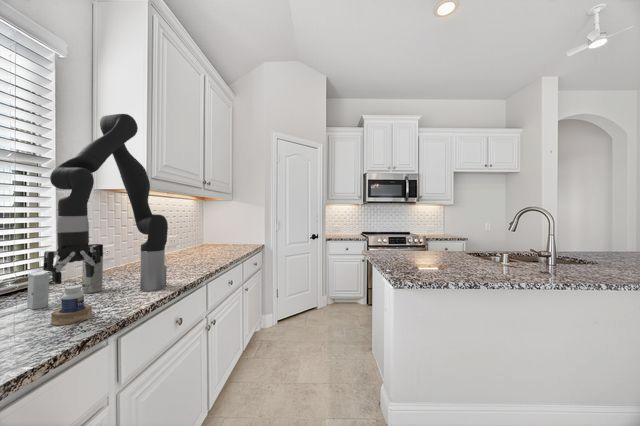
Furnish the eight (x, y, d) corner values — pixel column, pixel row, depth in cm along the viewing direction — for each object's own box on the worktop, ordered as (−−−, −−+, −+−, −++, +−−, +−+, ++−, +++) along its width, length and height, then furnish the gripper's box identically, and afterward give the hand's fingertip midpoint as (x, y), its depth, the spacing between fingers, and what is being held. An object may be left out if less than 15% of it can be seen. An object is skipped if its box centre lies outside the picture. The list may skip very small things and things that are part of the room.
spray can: (85, 290, 119) (85, 244, 119) (104, 288, 122) (105, 243, 122) (79, 294, 113) (80, 246, 113) (100, 292, 116) (100, 245, 116)
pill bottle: (80, 318, 88) (81, 288, 87) (58, 321, 85) (58, 290, 85) (86, 312, 92) (86, 283, 92) (64, 315, 90) (65, 285, 90)
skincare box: (26, 306, 99) (26, 273, 98) (43, 303, 102) (43, 270, 102) (32, 310, 96) (32, 275, 95) (49, 306, 99) (50, 272, 99)
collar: (80, 311, 95) (80, 302, 95) (99, 315, 91) (99, 306, 91) (43, 322, 86) (43, 312, 86) (62, 327, 82) (62, 317, 82)
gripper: (91, 228, 96) (91, 274, 97) (37, 231, 83) (38, 285, 83) (105, 228, 94) (105, 276, 94) (52, 232, 80) (53, 287, 81)
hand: (74, 280), depth 89 cm, fingers open, 8 cm apart
